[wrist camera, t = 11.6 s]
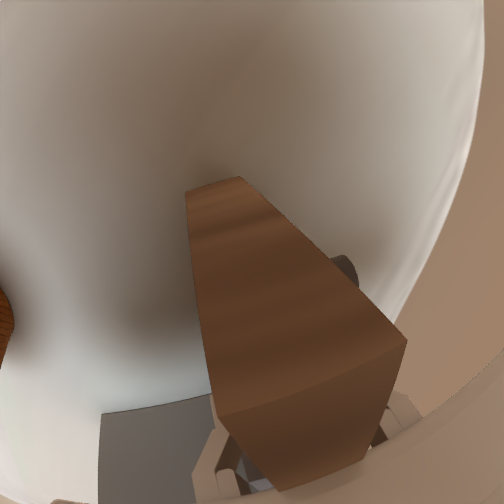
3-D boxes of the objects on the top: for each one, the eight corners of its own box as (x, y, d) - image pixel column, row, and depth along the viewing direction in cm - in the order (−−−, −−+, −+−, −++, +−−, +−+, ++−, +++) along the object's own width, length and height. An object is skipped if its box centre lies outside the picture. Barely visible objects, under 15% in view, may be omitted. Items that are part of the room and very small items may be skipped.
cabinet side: (79, 393, 17) (70, 553, 5) (300, 336, 19) (398, 512, 7) (113, 424, 19) (120, 561, 7) (305, 377, 21) (378, 518, 9)
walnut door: (185, 191, 11) (216, 417, 3) (270, 168, 12) (472, 297, 3) (253, 386, 18) (299, 513, 9) (303, 368, 18) (365, 486, 10)
